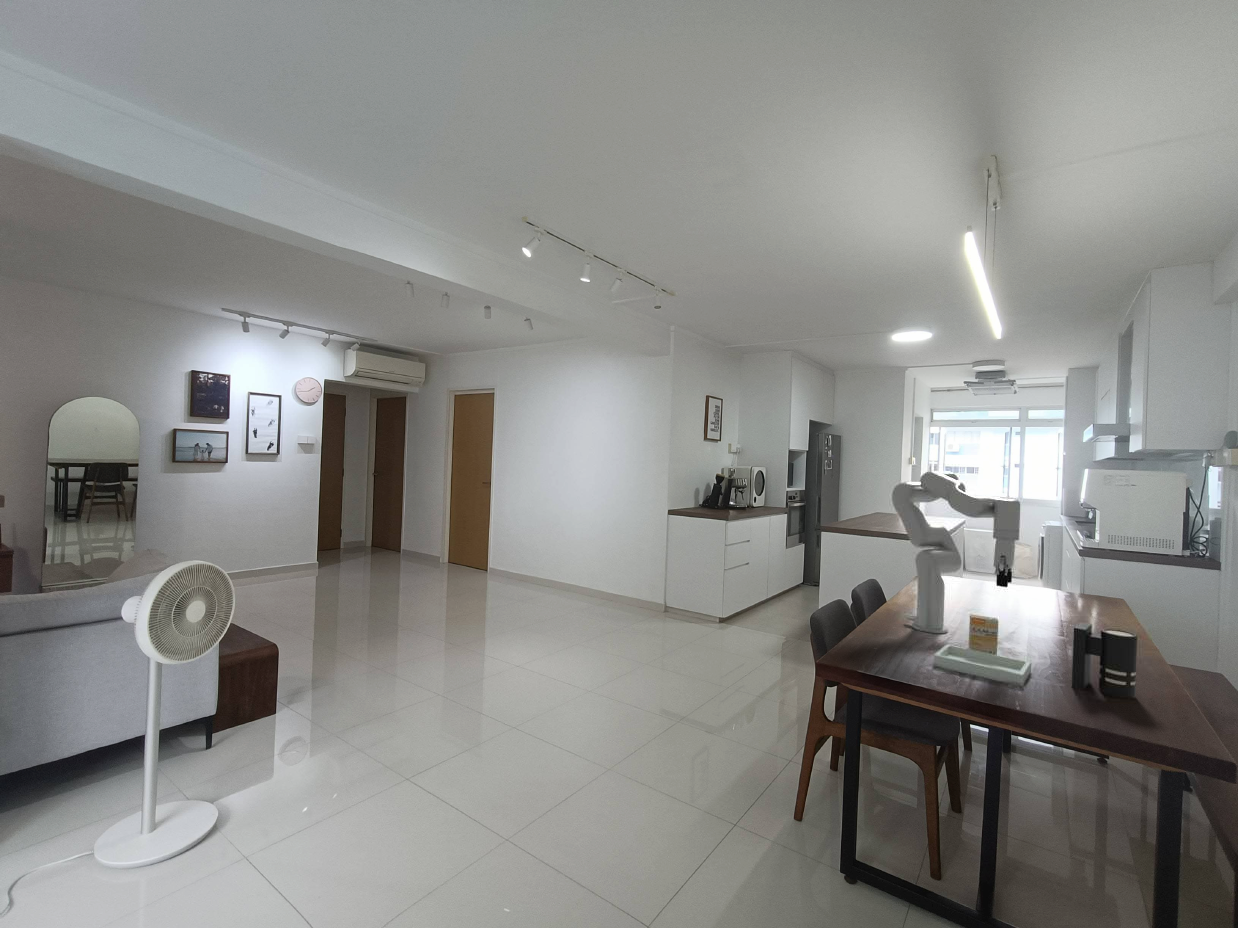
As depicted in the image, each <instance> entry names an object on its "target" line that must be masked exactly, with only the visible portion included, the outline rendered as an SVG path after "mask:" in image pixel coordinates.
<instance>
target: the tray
mask: <svg viewBox="0 0 1238 928" xmlns="http://www.w3.org/2000/svg"><path fill="white" fill-rule="evenodd" d="M968 648H969V647H967V648H966V647H962V646H957V645H954V644H953V645H952V644H948V643H947V644H946V645H944V646H943V647H942V648H940V649H939V650H938V651H937V652H936V653H935V654H933V666H934V667H938V668H941V669H942V668H943V669H946V670H950V671H954V672H958V673H963V674H968V675H971V676H975V677H978V678H984V679H988V680H992V681H997V682H1002V683H1005V684H1009V685H1014V686H1016V687H1018V686H1019V687H1023V686H1024V685H1025V683H1027V682H1026V681H1027V680H1028V679H1029V677H1030V675H1031V673H1032V661H1029V660H1025V659H1019V658H1015V657H1011V656H1010V657H1009V656H1005V655H1000V654H997V655H996V654H992V653H987V652H982V651H977V650H973V649H968Z"/></svg>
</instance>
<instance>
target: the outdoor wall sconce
mask: <svg viewBox="0 0 1238 928" xmlns="http://www.w3.org/2000/svg"><path fill="white" fill-rule="evenodd" d="M1092 629H1093V625H1092V624H1091V623H1086V622H1082V621H1081V622H1079V623H1077V624H1076V625H1075V626H1074V627H1073V643H1072V644H1073V645H1072V646H1073V647H1072V666H1071V667H1072V670H1071V671H1072V672H1071V673H1072V674H1071V688H1074V689H1077V690H1083V691H1084V690H1085V688H1087V686H1088V685H1089V684H1090V682H1091V681H1090V680H1091V659H1092V656H1096V657H1099V671H1098V672H1099V676H1098V677H1099V679H1098V691H1099V692H1101V693H1103V694H1105V695H1107V696H1111V697H1114V698H1120V699H1126V700H1133V699H1135V698H1136V680H1137V679H1136V676H1137V674H1136V673H1137V656H1138V655H1137V653H1138V651H1137V650H1138V635H1137V634H1136V633H1134V632H1130V631H1126V630H1123V629H1122V630H1121V629H1115V628H1102V629H1100V634H1097V633H1093V631H1092Z"/></svg>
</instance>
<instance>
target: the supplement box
mask: <svg viewBox="0 0 1238 928" xmlns="http://www.w3.org/2000/svg"><path fill="white" fill-rule="evenodd" d="M968 627H969V628H968V629H969V630H968V631H969V632H968V647H967V648H968V649H973V650H977V651H982V652H987V653H992V654H996V655H998V637H999V619H998V618H997V617H992V616H986V615H979V614H973V613H970V614H969V625H968Z"/></svg>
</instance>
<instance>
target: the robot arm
mask: <svg viewBox="0 0 1238 928" xmlns="http://www.w3.org/2000/svg"><path fill="white" fill-rule="evenodd" d="M940 499H942V500H945V501H946V502H948V505H949V507H950V508H951V509H953V510H954V511H956V512H957V513H959V514H961V515H963V516H966V517H969V518H972V519H973V518H974V519H976V518H977V519H983V518H987V519H989V518H990V519H993V530H992V539H995V544H994V556H993V558H994V559H993V567H994V568H997V571H996V586H997V587H1002V588H1007V587H1008V586H1009V583H1012V581H1013V580H1012V577H1013V570H1012V568H1013V567H1014V561H1015V548H1016V541H1019V540H1020V527H1021V526H1020V524H1021V502H1020V501H1019V500H1018V499H1014V498H1013V499H1012V498H1000V497H999V496H973V495H970V494H968V493H966V486H965V484H964V483H963V482H962V481H960V480H959V478H958V476H957V475H956V474H955V473H953V472H952V471H948V470H947V471H946V470H930V471H929V470H928V471H926V472H924V473H923V474H921V477H920V479H919V481H906V482H900V483H898V484H897V485H895V486H894V488H893V491H892V493H891V502H892V505H893V507H894V509H895V512H896V513H897V515H898V516H899V518H900V520H901V522H902V525H903V527H904V529H905V532H906V534H907V536H908V539H909V541H910V543H911V545H913V547H915V548H918V549H923V550H921V551H918V553H916V557H915V568H916V575H917V576H916V577H917V585H916V586H917V588H916V591H917V592H916V593H917V594H916V596H917V597H916V614H914V615H913V614H912V615H911V614H908V613H905V615H904V617H905V619H906V620H907V621H913V622H912V623H911V627H912V628H913V629H916V630H917V631H920V632H921V631H922V632H924V633H929V634H930V633H932V634H945V633H948V632H949V628H948V626H946V625H944V624H945V623H944V619H945V617H944V616H945V588H946V587H945V582H944V581H945V580H944V579H943V578H942V575H941V574H949V573H950V574H952V573H956V572H958V571H959V570H960V569H961V568H962V564H963V563H962V558H961V555H960V554H961V553H960V552H959V550H958V547H957V545H956V544H955V541H954V539H953V537H952V535H951V533H950V532H949V530H948V529H947V528H946V527H944V526H943V525H941V524H931V523H928V521H927V519H926V518H925V516H924V515H925V514H923V511H922V510H921V509H920V508H918V507H917V505H915V504H914V503H931V502H932V503H933V502H935V501H937V500H940Z"/></svg>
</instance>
